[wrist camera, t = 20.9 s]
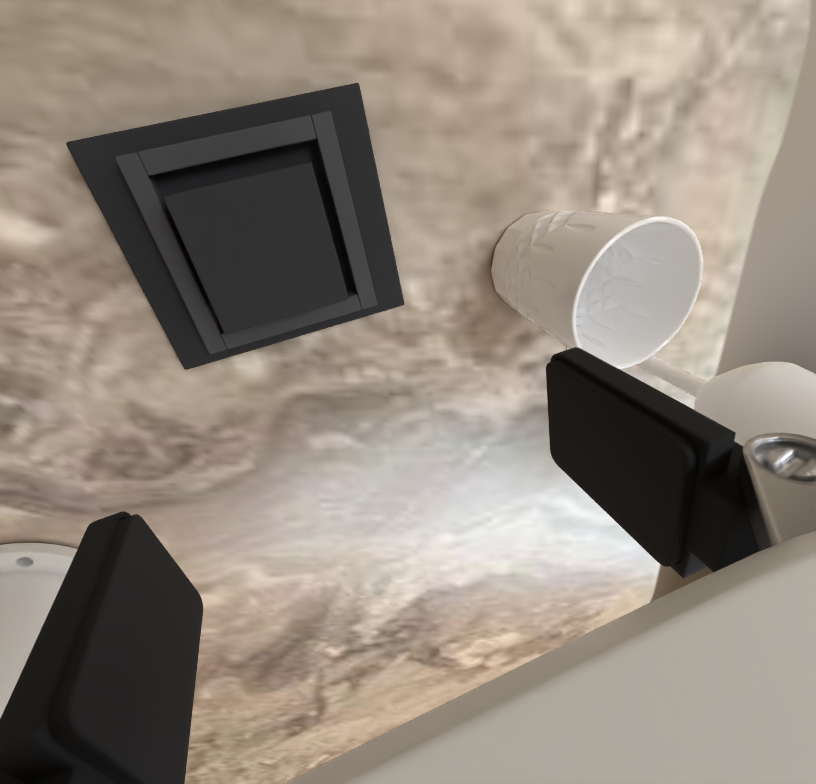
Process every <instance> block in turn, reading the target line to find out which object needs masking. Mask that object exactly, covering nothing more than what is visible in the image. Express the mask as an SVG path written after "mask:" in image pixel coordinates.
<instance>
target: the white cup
mask: <svg viewBox="0 0 816 784" xmlns="http://www.w3.org/2000/svg"><path fill="white" fill-rule="evenodd" d="M491 274H492V278H493V282H494V286H495V291H496V292H497V293H498V294H499V295H500V296H501V298H502V299H503V300H504V301H505V302H506V303H507V304H508V305H509V306H511V307H512V308H514V309H515V310H517V311H518V312H519V313H520V314H521V315H522V316H524V317H525V318H526V319H527V320H529V321H530V322H532V323H533V324H535V325H536V326H537V327H539V328H540V329H541V330H543V331H544V332H545V333H547V334H548V335H550V336H551V337H553V338H554V339H556V340H557V341H559V342H560V343H562V344H563V345H565V346H566V347H568V348H569V349H571V348H574V347H578V348H581V349H583V350H585V351H586V352H588V353H590V354H592V355H594V356H596V357H597V358H599V359H601V360H603V361H605V362H607V363H609V364H610V365H612V366H614V367H616V368H618V369H623V368H627V367H631V366H634V365H636V364H639V363H641V362H643V361H645V360H646V359H648V358H650V357H651V356H653V355H654V354H655V353H657V352H658V351H659V350H661V349H662V348H663V347H664V346H665V345H666V344H667V343H668V342H669V341H670V340H671V339H672V338H673V337H674V336H675V334H676V333H677V332H678V331H679V329H680V328H681V327H682V325H683V324H684V322H685V321H686V319H687V317H688V316H689V314H690V312H691V310H692V308H693V306H694V304H695V301H696V299H697V296H698V293H699V289H700V286H701V281H702V275H703V256H702V250H701V246H700V243H699V241H698V239H697V237H696V235H695V233H694V232H693V231H692V230H691V228H690V227H689V226H687V225H686V224H685V223H683V222H682V221H680V220H677V219H675V218H671V217H664V216H649V215H635V214H621V213H608V212H593V211H550V210H545V211H540V212H534V213H528V214H525V215H524V216H523V217H521V218H520V219H519V220H517V221H516V222H515V223H513V224H512V225H510V226H509V227H508V228H507V229H506V231H505V233H504V234H503V236H502V238H501V239H500V241H499V243H498V244H497V246H496V247H495V251H494V256H493V262H492V267H491Z"/></svg>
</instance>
